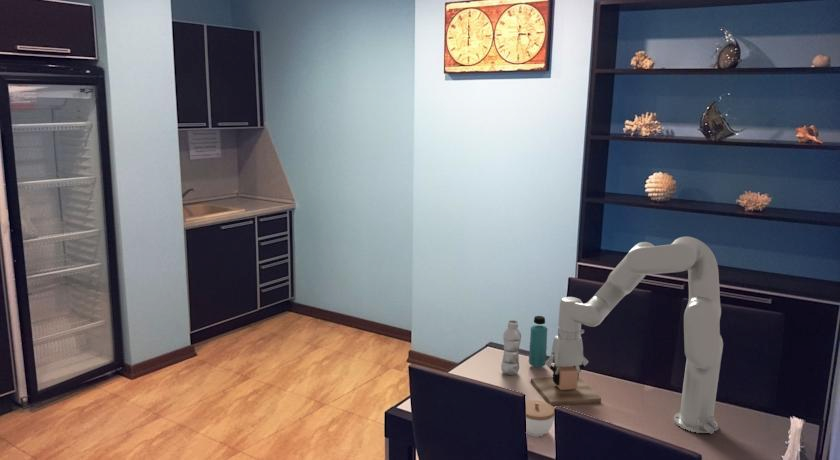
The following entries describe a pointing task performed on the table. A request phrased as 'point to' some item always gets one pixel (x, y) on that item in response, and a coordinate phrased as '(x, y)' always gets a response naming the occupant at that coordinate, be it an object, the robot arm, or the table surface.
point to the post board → (564, 392)
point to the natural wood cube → (568, 378)
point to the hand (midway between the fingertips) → (565, 382)
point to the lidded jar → (538, 417)
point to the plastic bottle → (511, 349)
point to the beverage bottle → (538, 342)
